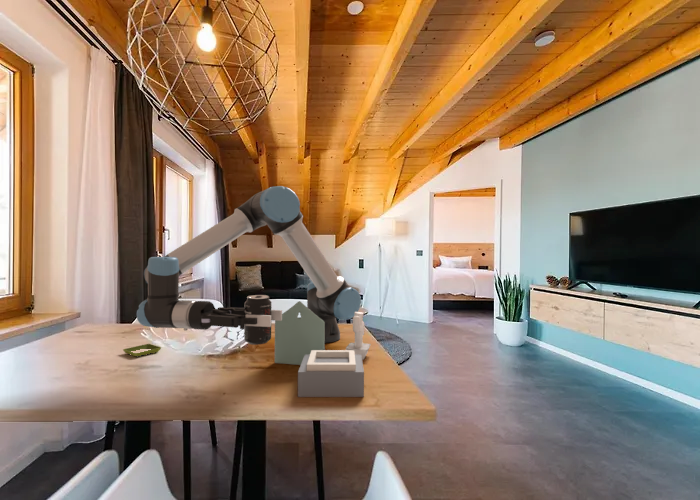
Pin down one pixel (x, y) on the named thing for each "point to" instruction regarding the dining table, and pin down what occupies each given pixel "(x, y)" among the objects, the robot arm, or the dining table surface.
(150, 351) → the green shallow square tray
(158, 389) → the dining table surface
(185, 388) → the dining table surface
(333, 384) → the stand
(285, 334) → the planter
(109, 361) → the dining table surface
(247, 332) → the beverage can
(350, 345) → the figurine
